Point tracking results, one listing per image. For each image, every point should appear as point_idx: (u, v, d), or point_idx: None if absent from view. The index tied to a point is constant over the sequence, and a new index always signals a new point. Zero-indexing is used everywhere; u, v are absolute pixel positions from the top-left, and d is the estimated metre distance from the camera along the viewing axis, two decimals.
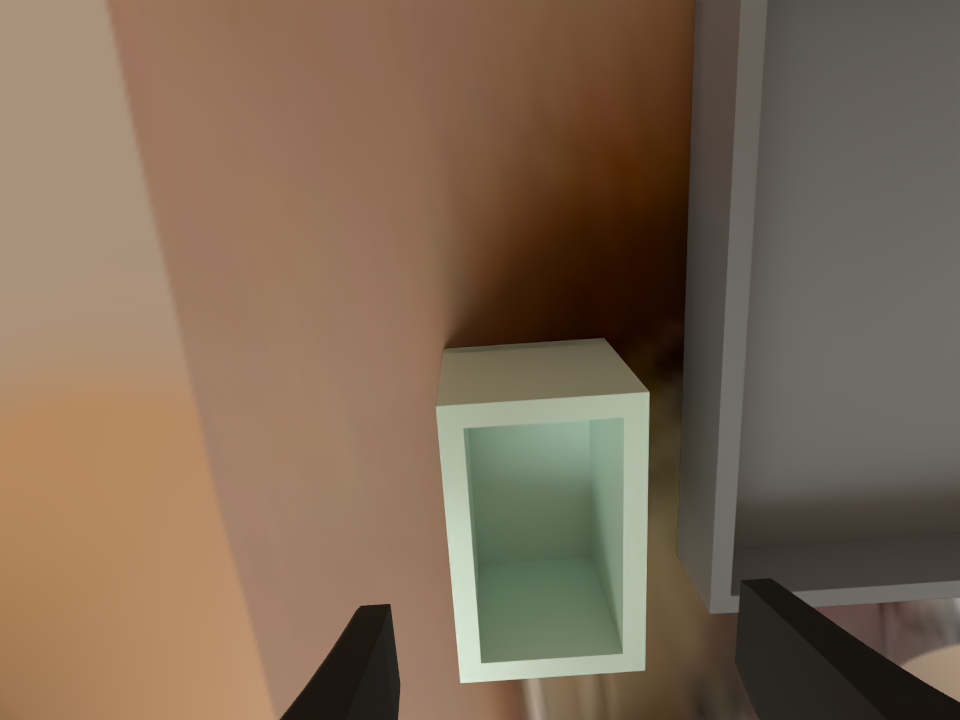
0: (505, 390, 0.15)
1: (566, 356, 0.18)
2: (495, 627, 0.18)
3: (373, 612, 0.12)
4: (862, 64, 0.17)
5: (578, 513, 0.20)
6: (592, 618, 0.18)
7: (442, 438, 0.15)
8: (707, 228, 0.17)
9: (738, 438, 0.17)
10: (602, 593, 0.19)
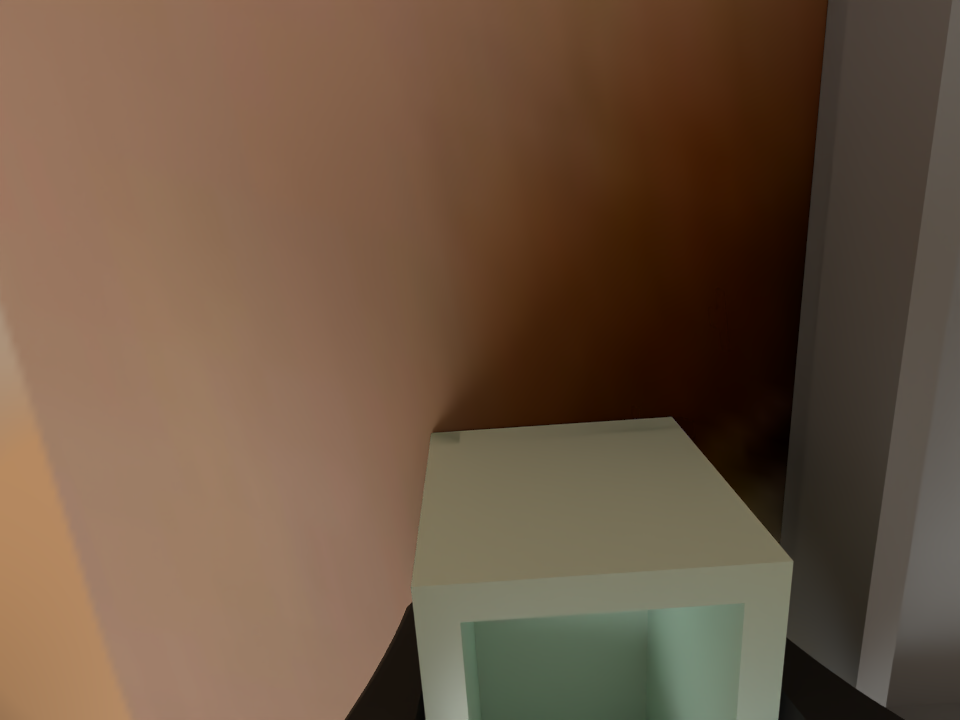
0: (533, 544, 0.09)
1: (623, 457, 0.11)
2: None
3: None
4: None
5: (629, 666, 0.14)
6: None
7: (423, 638, 0.08)
8: (854, 258, 0.10)
9: (900, 593, 0.11)
10: None
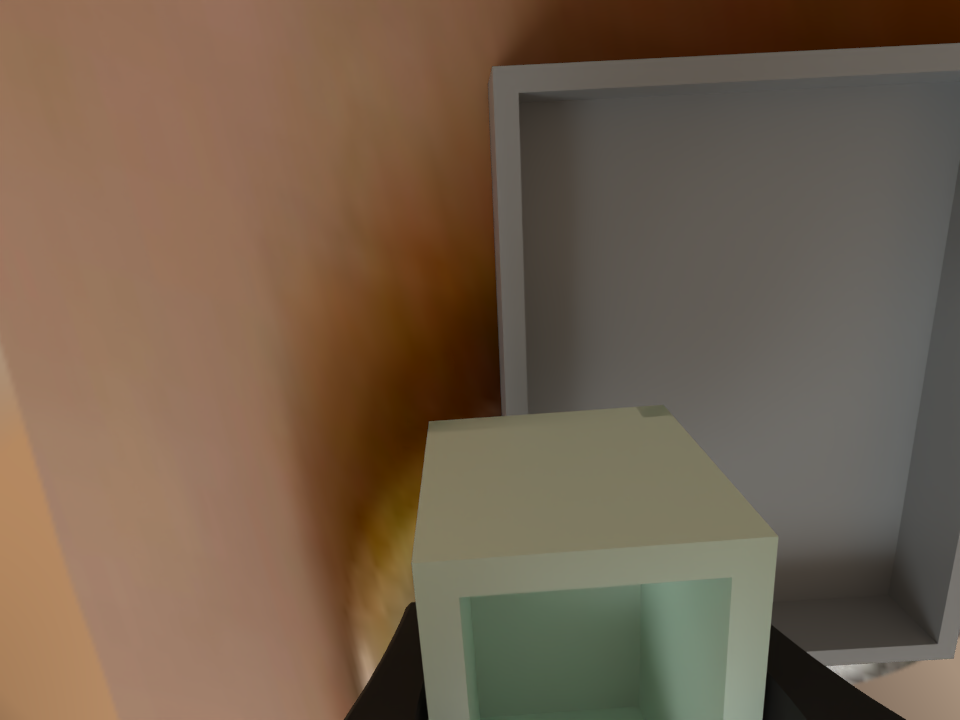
0: (528, 523, 0.09)
1: (616, 443, 0.12)
2: None
3: None
4: (645, 177, 0.18)
5: (622, 649, 0.14)
6: None
7: (423, 613, 0.09)
8: (500, 327, 0.18)
9: None
10: None
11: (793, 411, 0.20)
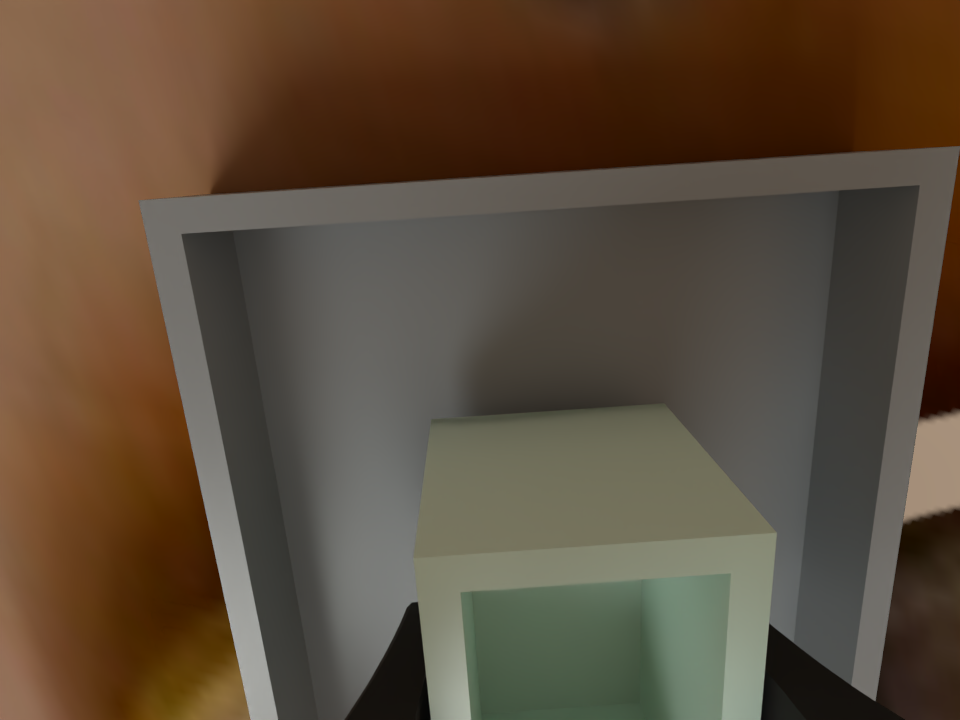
0: (529, 519, 0.09)
1: (616, 440, 0.12)
2: None
3: None
4: (419, 310, 0.14)
5: (623, 646, 0.14)
6: None
7: (425, 608, 0.09)
8: None
9: None
10: None
11: None
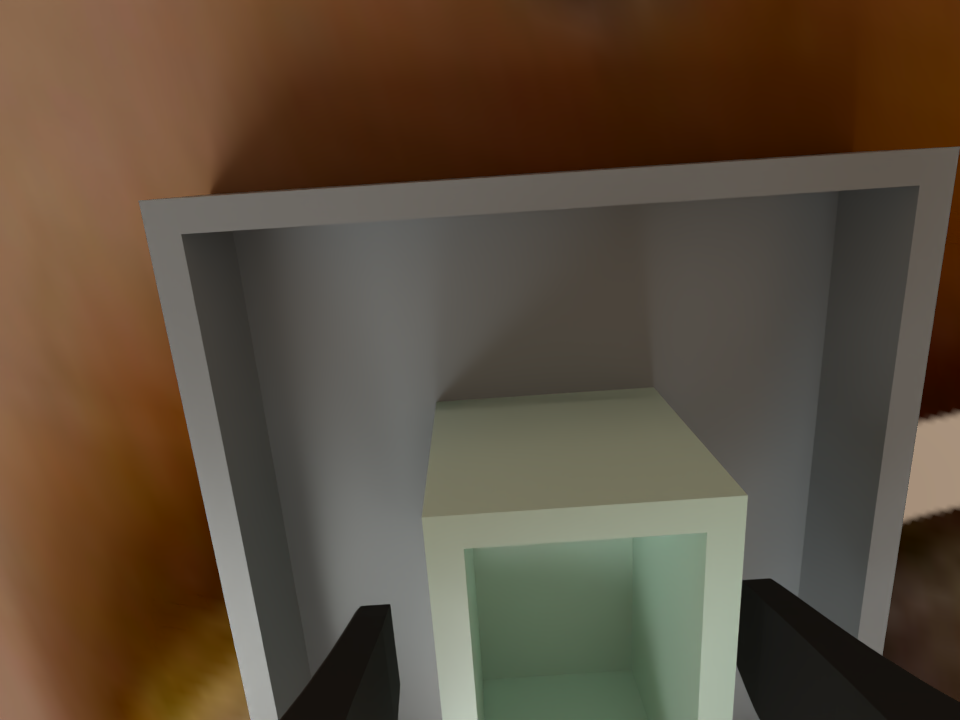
0: (526, 485, 0.10)
1: (608, 419, 0.13)
2: None
3: (372, 613, 0.12)
4: (419, 310, 0.14)
5: (615, 616, 0.15)
6: None
7: (432, 563, 0.10)
8: None
9: None
10: None
11: None
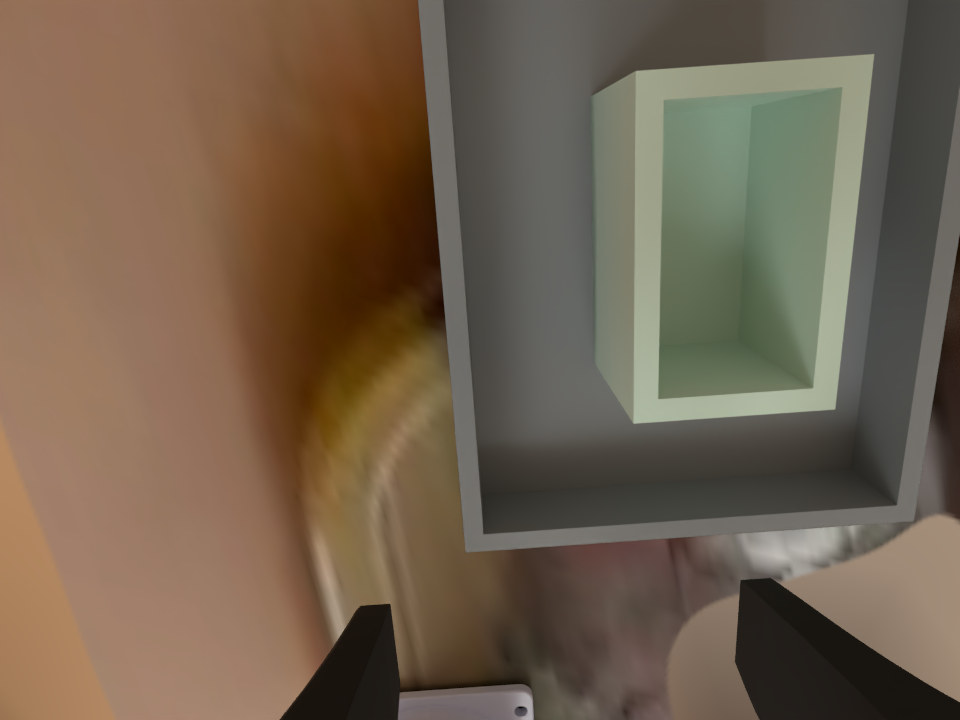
0: None
1: None
2: (659, 380, 0.16)
3: (372, 613, 0.12)
4: (582, 13, 0.17)
5: (728, 288, 0.19)
6: (764, 371, 0.17)
7: (639, 113, 0.13)
8: None
9: (469, 378, 0.18)
10: (764, 359, 0.18)
11: None
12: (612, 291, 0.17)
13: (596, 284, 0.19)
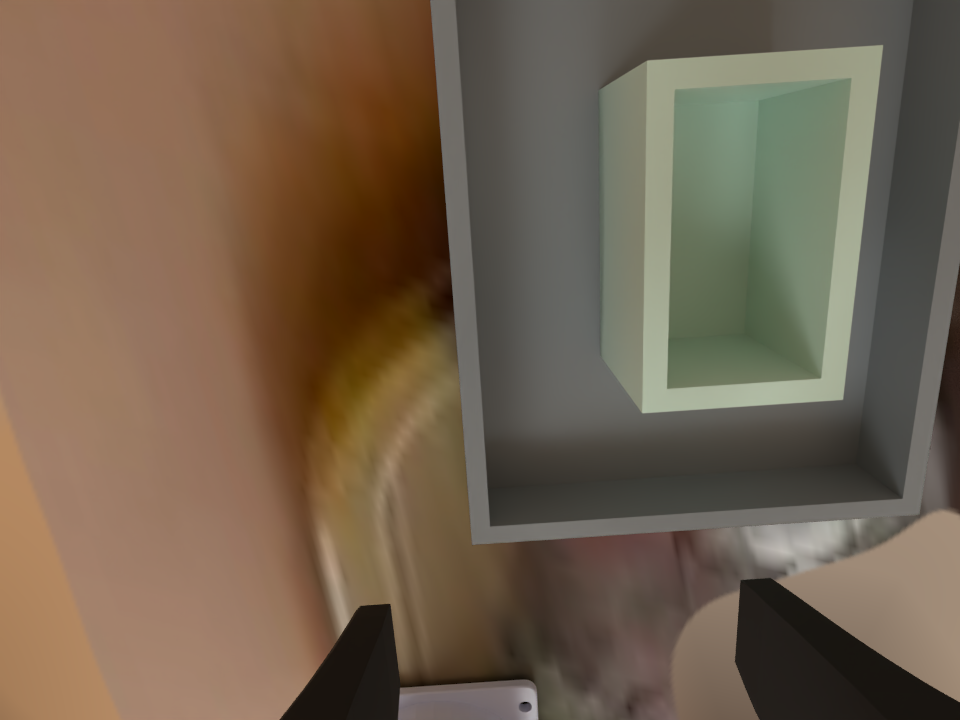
0: None
1: None
2: (667, 370, 0.17)
3: (372, 613, 0.12)
4: (591, 7, 0.17)
5: (734, 281, 0.19)
6: (771, 362, 0.17)
7: (650, 102, 0.13)
8: None
9: (477, 369, 0.18)
10: (770, 351, 0.18)
11: None
12: (620, 282, 0.17)
13: (603, 277, 0.19)
